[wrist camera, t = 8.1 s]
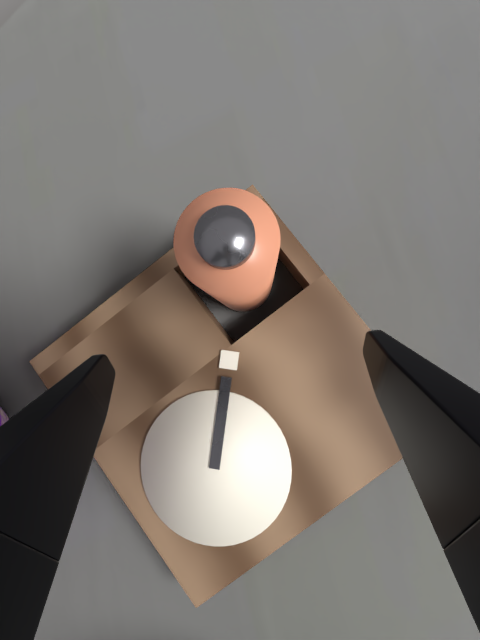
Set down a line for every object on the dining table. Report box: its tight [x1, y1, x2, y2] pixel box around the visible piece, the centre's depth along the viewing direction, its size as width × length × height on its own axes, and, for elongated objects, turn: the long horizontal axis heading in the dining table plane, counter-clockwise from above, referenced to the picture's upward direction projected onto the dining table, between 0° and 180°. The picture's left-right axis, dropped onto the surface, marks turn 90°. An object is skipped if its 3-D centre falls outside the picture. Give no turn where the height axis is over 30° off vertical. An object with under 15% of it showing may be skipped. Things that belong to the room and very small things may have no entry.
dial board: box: [29, 185, 403, 608], centre depth 20 cm, size 20×20×3 cm
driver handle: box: [173, 188, 281, 312], centre depth 16 cm, size 4×4×11 cm
